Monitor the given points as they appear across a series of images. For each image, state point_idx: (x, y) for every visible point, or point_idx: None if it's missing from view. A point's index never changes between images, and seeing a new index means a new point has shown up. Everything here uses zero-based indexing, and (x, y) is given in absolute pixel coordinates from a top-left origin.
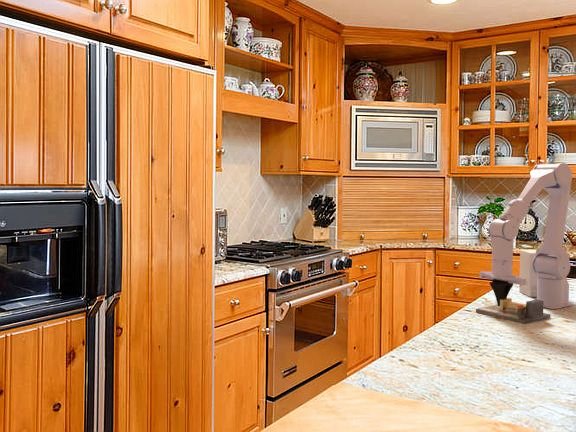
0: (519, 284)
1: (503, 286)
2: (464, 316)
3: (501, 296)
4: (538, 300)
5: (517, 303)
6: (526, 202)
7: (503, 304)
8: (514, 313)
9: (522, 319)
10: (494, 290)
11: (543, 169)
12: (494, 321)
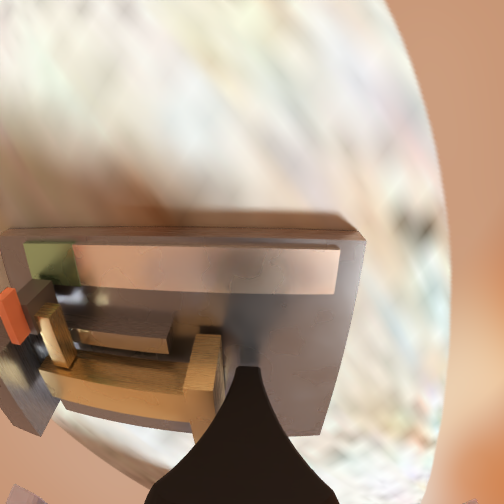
0: (25, 495)
1: (151, 493)
2: (331, 48)
3: (213, 421)
4: (17, 419)
5: (113, 399)
6: None
7: (189, 366)
8: (107, 321)
9: (11, 245)
10: (280, 453)
11: None
12: (105, 118)
